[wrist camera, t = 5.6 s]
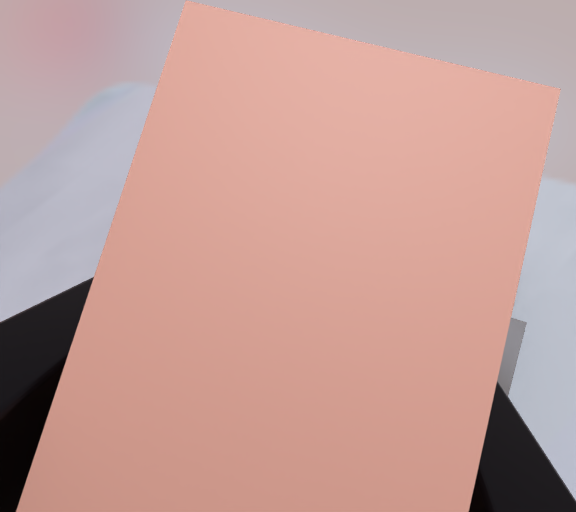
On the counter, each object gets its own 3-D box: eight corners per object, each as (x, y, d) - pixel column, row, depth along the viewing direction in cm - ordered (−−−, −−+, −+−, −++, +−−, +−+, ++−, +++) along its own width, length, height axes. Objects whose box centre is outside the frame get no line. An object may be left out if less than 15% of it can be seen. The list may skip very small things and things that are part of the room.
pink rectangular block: (322, 522, 14) (363, 993, 4) (186, 479, 14) (-89, 823, 4) (392, 247, 15) (560, 88, 5) (264, 213, 15) (186, 1, 5)
